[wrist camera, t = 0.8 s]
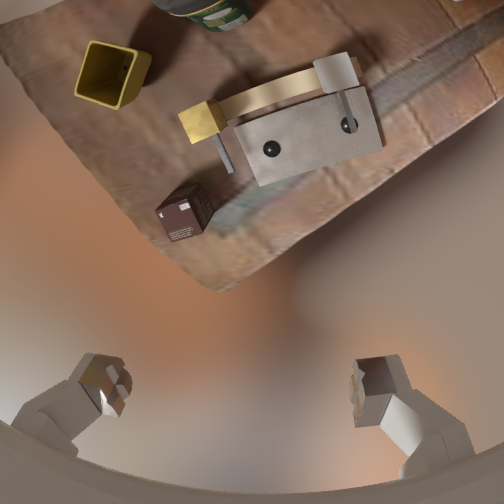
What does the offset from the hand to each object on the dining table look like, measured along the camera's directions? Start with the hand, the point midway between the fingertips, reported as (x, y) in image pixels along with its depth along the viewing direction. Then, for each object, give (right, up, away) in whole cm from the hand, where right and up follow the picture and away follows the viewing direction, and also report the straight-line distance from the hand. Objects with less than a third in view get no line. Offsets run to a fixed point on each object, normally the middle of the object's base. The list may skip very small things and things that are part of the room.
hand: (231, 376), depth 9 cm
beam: (+6, +25, +30) cm, 39 cm away
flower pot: (-18, +33, +29) cm, 47 cm away
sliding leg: (-4, +20, +30) cm, 37 cm away
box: (-9, +13, +41) cm, 44 cm away
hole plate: (+9, +21, +31) cm, 39 cm away
